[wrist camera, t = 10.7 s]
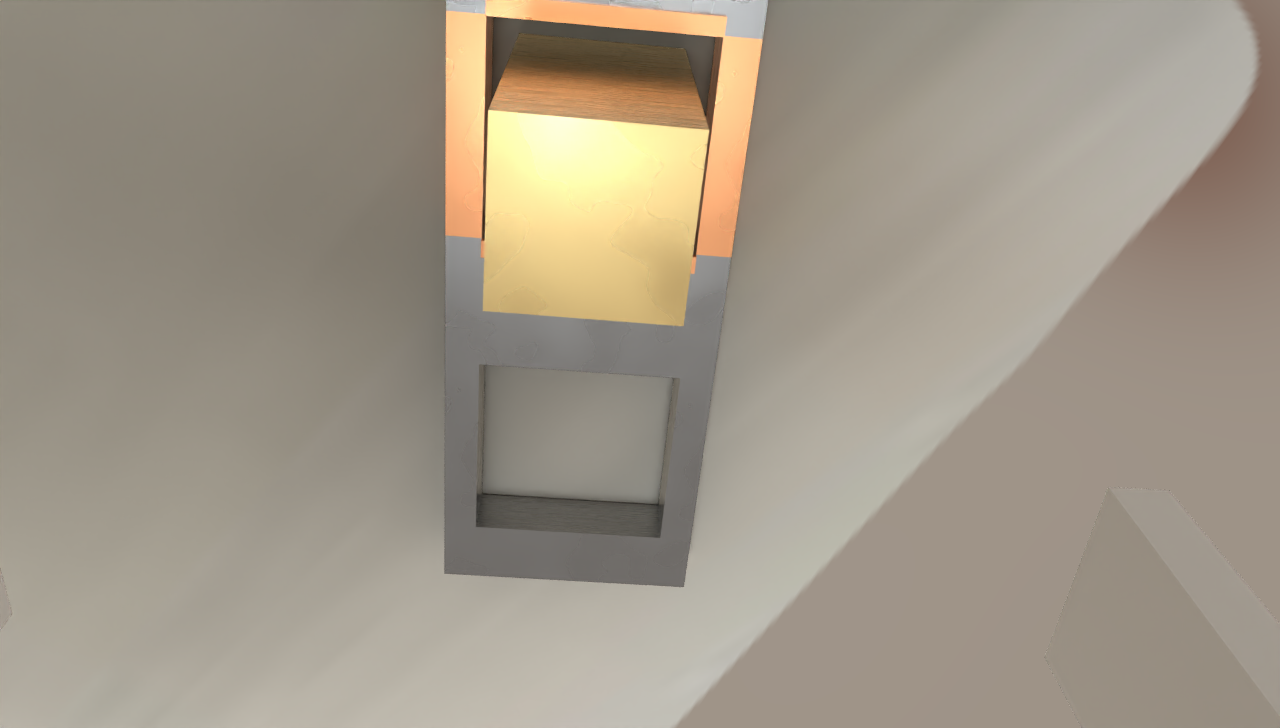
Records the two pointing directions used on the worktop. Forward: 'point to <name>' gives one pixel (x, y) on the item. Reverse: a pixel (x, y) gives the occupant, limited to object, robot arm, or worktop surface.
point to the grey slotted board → (574, 529)
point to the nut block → (593, 181)
